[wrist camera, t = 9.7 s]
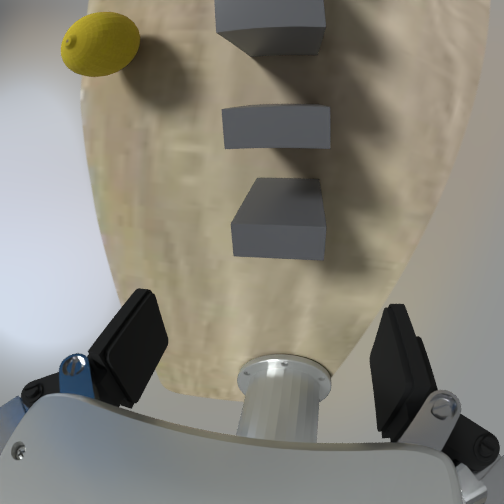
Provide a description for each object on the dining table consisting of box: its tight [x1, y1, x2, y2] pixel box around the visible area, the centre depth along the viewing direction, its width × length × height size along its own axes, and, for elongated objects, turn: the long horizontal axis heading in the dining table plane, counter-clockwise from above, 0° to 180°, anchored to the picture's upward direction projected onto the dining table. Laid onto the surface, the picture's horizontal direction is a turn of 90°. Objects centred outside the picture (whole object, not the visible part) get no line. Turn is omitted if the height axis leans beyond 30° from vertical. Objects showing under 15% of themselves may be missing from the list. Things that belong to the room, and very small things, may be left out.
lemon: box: [61, 12, 140, 77], centre depth 15 cm, size 6×6×8 cm
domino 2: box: [222, 104, 330, 149], centre depth 16 cm, size 2×5×9 cm, turn 93°
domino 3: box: [231, 178, 326, 260], centre depth 19 cm, size 2×5×9 cm, turn 93°
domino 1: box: [215, 0, 326, 57], centre depth 13 cm, size 2×5×9 cm, turn 93°
